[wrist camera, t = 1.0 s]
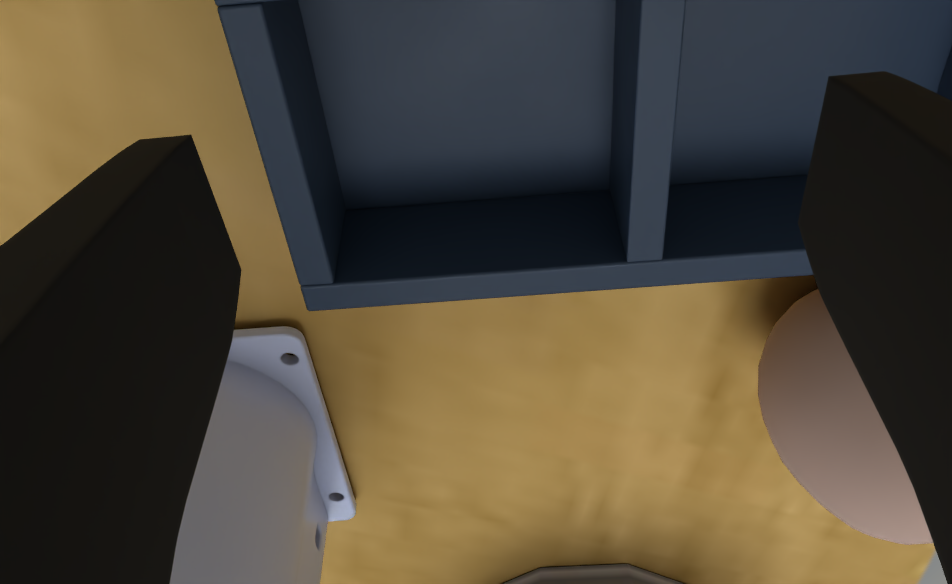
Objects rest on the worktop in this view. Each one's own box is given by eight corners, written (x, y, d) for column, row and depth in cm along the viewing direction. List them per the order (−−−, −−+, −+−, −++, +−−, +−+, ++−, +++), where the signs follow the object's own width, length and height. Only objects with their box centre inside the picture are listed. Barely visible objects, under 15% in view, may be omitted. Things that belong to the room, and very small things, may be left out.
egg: (965, 274, 23) (1119, 501, 18) (830, 388, 27) (927, 610, 21) (820, 206, 22) (943, 434, 16) (694, 336, 25) (761, 564, 19)
